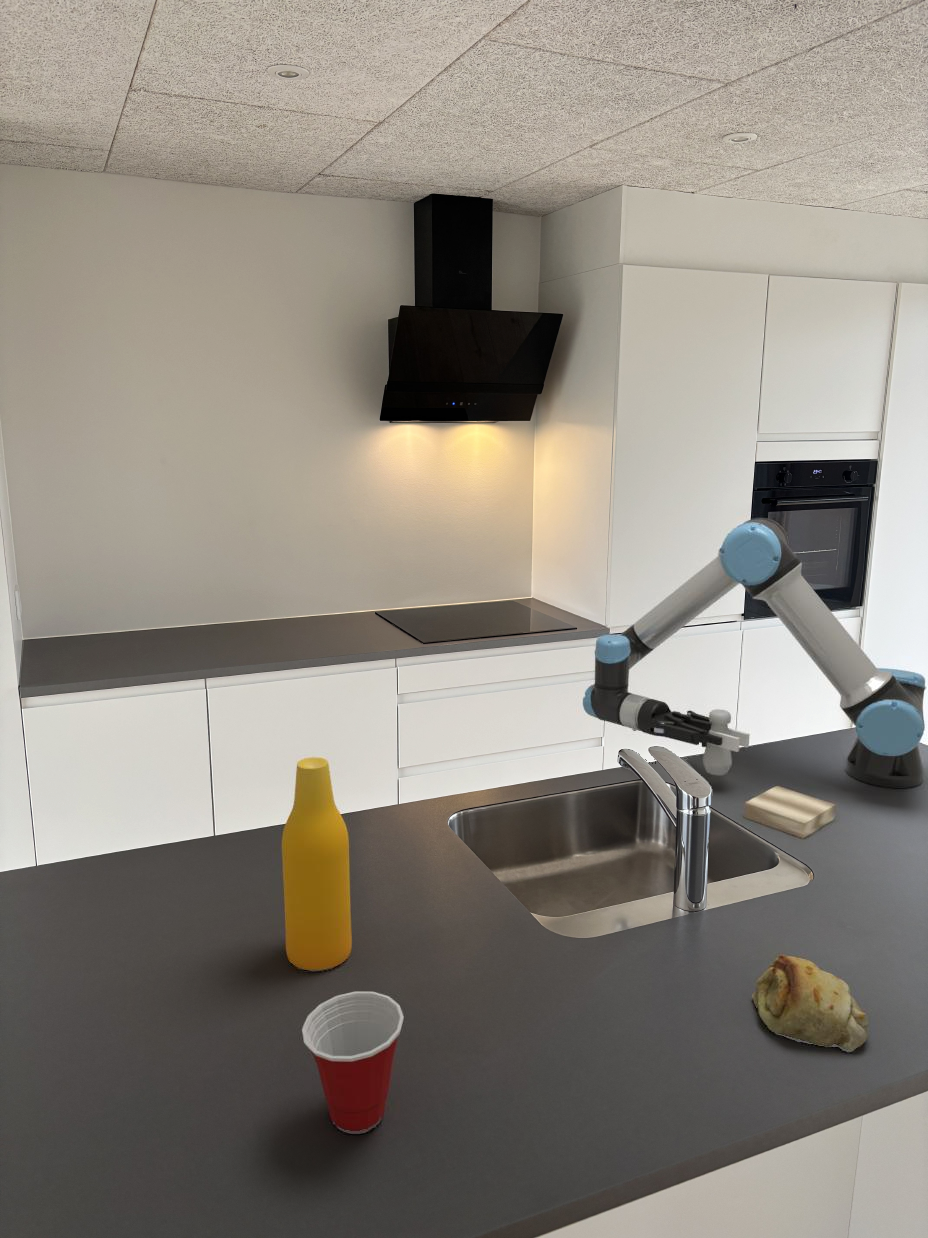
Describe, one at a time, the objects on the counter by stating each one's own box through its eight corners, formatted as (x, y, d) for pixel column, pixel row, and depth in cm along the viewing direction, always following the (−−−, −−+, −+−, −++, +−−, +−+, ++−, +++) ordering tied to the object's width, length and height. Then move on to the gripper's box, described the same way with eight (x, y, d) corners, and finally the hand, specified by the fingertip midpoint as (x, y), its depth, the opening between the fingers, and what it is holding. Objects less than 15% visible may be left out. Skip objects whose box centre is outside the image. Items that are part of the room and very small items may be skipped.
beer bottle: (365, 953, 128) (361, 762, 122) (313, 983, 122) (305, 782, 115) (324, 928, 134) (318, 745, 128) (273, 955, 128) (263, 763, 121)
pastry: (729, 1003, 118) (733, 948, 116) (800, 978, 123) (806, 925, 121) (811, 1072, 106) (818, 1012, 104) (887, 1042, 111) (894, 984, 109)
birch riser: (775, 799, 180) (776, 785, 179) (834, 819, 171) (835, 804, 171) (743, 817, 172) (745, 802, 171) (803, 838, 163) (804, 823, 163)
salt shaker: (732, 778, 181) (736, 716, 178) (702, 776, 182) (706, 715, 179) (730, 767, 187) (733, 707, 184) (701, 765, 188) (704, 706, 185)
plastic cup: (309, 1082, 103) (306, 990, 101) (404, 1077, 104) (402, 986, 102) (301, 1158, 93) (296, 1058, 90) (406, 1152, 94) (404, 1052, 91)
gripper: (666, 723, 202) (762, 750, 185) (622, 740, 191) (720, 771, 174) (668, 691, 200) (765, 715, 183) (623, 706, 190) (722, 734, 173)
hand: (743, 742), depth 179 cm, fingers closed on salt shaker, 3 cm apart
